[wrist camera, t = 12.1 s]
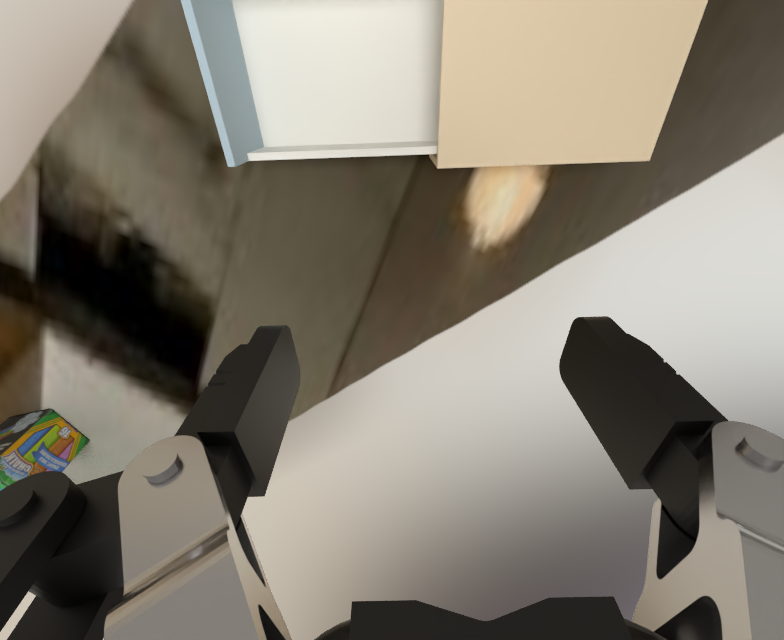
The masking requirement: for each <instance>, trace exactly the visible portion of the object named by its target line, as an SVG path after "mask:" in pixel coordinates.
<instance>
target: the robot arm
mask: <svg viewBox="0 0 784 640" xmlns="http://www.w3.org/2000/svg"><path fill="white" fill-rule="evenodd" d="M559 367H560V375H561V378H562V380H563V382H564V384H565V385H566V387H567V389H568V390H569V392H570V394H571V395H572V397H573V399H574V400H575V401H576V403H577V405H578V407H579V408H580V410H581V411H582V413H583V415H584V416H585V418H586V420H587V421H588V423H589V424H590V426H591V428H592V429H593V431H594V432H595V434H596V436H597V437H598V439H599V441H600V442H601V444H602V445H603V447H604V449H605V450H606V452H607V453H608V455H609V457H610V458H611V460H612V462H613V463H614V465H615V467H616V468H617V470H618V471H619V473H620V475H621V476H622V478H623V479H624V481H625V482H626V484H627V486H628V488H629V489H653V490H654V492H655V493H656V495H657V496H658V498H657V499H656V501H655V502H654V504H653V509H652V519H651V529H650V541H649V550H648V561H647V571H646V580H645V585H644V589H643V592H642V595H641V597H640V599H639V601H638V603H637V606H636V608H635V611H634V615H633V619H632V622H631V621H629V620H626V619H624V618H623V616H622V614H621V612H620V610H619V607H618V605H617V603H616V601H615V599H614V597H565V598H547V599H545V600H542V601H540V602H537V603H535V604H532V605H530V606H527V607H524V608H522V609H519V610H517V611H514V612H512V613H509V614H507V615H504V616H502V617H500V618H497V619H495V620H491V621H480V620H477V619H474V618H470V617H467V616H464V615H461V614H458V613H454V612H451V611H448V610H445V609H442V608H438V607H435V606H432V605H429V604H426V603H423V602H419V601H416V600H409V601H356V602H352V609H351V619H350V620H348V621H345V622H342V623H340V624H338V625H336V626H334V627H333V628H331V629H329V630H327V631H325V632H324V633H323V634H321V635H320V636H319V637H317V638H316V639H314V640H784V439H782V438H780V437H779V436H777V435H775V434H773V433H771V432H769V431H767V430H764V429H762V428H759V427H756V426H753V425H750V424H746V423H741V422H735V421H728V420H727V419H726V418H725V417H724V416H723V415H722V414H721V413H720V412H719V411H717V409H715V408H714V407H713V406H712V405H711V404H710V403H709V402H708V401H707V400H706V399H705V398H704V397H703V396H702V395H700V393H698V392H697V391H696V390H695V389H694V388H693V387H692V386H691V385H690V384H689V383H688V382H687V381H686V380H685V379H684V378H683V377H682V376H680V375H677V374H676V371H675V370H674V369H673V368H672V367H671V366H670V365H669V364H668V363H667V362H666V363H664V361H663V358H661V357H660V356H659V355H658V354H657V353H656V352H655V351H654V350H653V349H652V348H651V347H650V346H648V345H647V344H645V343H643V342H642V341H640V340H638V339H637V338H635V337H633V336H631V335H630V334H626V333H625V332H624V331H623V330H622V329H621V328H620V327H619V326H618V325H617V324H616V323H615V322H614V321H613V320H612V319H611V318H609V317H578V318H576V319H575V320H574V321H573V323H572V325H571V328H570V331H569V334H568V337H567V340H566V344H565V346H564V349H563V352H562V356H561V359H560V366H559ZM299 384H300V367H299V363H298V359H297V355H296V351H295V347H294V343H293V339H292V335H291V331H290V329H289V327H288V326H287V325H282V326H260V327H258V328H257V330H256V331H255V333H254V335H253V336H252V338H251V340H250V342H249V343H248V344H241V345H239V346H238V347H237V348H236V349H234V350H233V351H232V352H231V353H229V354H228V355H227V356H226V357H225V358H224V360H223V361H222V363H221V364H220V366H219V367H218V369H217V371H216V374H214V375H213V377H212V378H211V380H210V381H209V383H208V387H206V388H205V389H204V391H203V392H202V394H201V395H200V397H199V399H198V400H197V402H196V403H195V405H194V406H193V408H192V409H191V411H190V413H189V414H188V416H187V417H186V419H185V420H184V422H183V423H182V425H181V427H180V428H179V430H178V431H177V433H176V434H175V436H174V437H170V438H166V439H164V440H161V441H159V442H157V443H155V444H153V445H151V446H150V447H148V448H146V449H145V450H144V451H142V452H141V453H140V454H138V455H137V456H136V457H135V458H134V459H133V460H132V461H131V462H130V463H129V465H128V466H127V467H126V469H125V470H124V471H121V472H118V473H115V474H111V475H108V476H105V477H101V478H98V479H94V480H91V481H88V482H84V483H81V484H78V485H76V484H75V483H74V482H72V481H71V480H70V479H69V478H68V477H67V476H66V475H65V474H64V473H62V472H59V471H45V472H40V473H36V474H33V475H30V476H28V477H25V478H23V479H21V480H18V481H16V482H14V483H13V484H11V485H9V486H7V487H6V488H4V489H2V490H1V491H0V631H1V630H2V628H3V627H4V626H5V624H6V623H7V621H8V620H9V618H10V617H11V615H12V614H13V613H14V611H15V610H16V608H17V607H18V605H19V604H20V602H21V601H22V599H23V598H24V596H25V595H26V594H27V592H28V591H29V592H31V593H33V594H34V595H36V597H35V598H34V600H33V601H32V603H31V605H30V606H29V607H28V609H27V610H26V612H25V614H24V615H23V617H22V618H21V619H20V621H19V622H18V624H17V625H16V627H15V629H14V630H13V631H12V633H11V635H10V636H9V637H8V639H7V640H103V638H104V640H292V639H291V637H290V634H289V631H288V629H287V626H286V624H285V622H284V619H283V617H282V614H281V612H280V610H279V608H278V606H277V604H276V602H275V599H274V597H273V595H272V592H271V590H270V587H269V585H268V582H267V579H266V577H265V574H264V571H263V569H262V566H261V563H260V561H259V558H258V555H257V552H256V550H255V547H254V544H253V542H252V539H251V536H250V534H249V531H248V528H247V525H246V523H245V520H244V518H243V515H242V510H243V508H244V505H245V502H246V500H247V497H255V496H256V497H257V496H265V493H266V490H267V487H268V483H269V480H270V477H271V474H272V471H273V468H274V465H275V461H276V458H277V455H278V452H279V449H280V445H281V442H282V439H283V436H284V433H285V430H286V427H287V424H288V420H289V417H290V414H291V411H292V408H293V405H294V401H295V398H296V395H297V392H298V389H299Z"/></svg>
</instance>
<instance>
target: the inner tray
mask: <svg viewBox="0 0 784 640" xmlns="http://www.w3.org/2000/svg"><path fill="white" fill-rule="evenodd" d="M181 3H182V6H183V10H184V13H185V17H186V20H187V24H188V27H189V31H190V34H191V38H192V41H193V45H194V48H195V52H196V55H197V59H198V62H199V66H200V69H201V73H202V77H203V80H204V84H205V87H206V91H207V94H208V98H209V101H210V105H211V108H212V112H213V115H214V119H215V122H216V126H217V129H218V133H219V136H220V140H221V143H222V147H223V151H224V154H225V158H226V161H227V165H228V167H236V166H238V165H241V164H243V163H245V162H248V161H259V160H286V159H313V158H341V157H368V156H395V155H422V154H437V145H438V120H439V94H440V69H441V44H442V18H443V0H181Z"/></svg>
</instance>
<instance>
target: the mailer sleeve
mask: <svg viewBox="0 0 784 640" xmlns="http://www.w3.org/2000/svg"><path fill="white" fill-rule="evenodd" d="M707 2H708V0H443V18H442V44H441V69H440V94H439V120H438V145H437V154H429V157H430V159H431V160H432V161H433V163H434V164H435V166H436V167H437V169H438V168H465V167H493V166H521V165H548V164H576V163H604V162H631V161H650V158H651V155H652V152H653V150H654V147H655V144H656V141H657V139H658V136H659V133H660V130H661V128H662V125H663V122H664V120H665V117H666V114H667V111H668V109H669V106H670V103H671V100H672V98H673V95H674V92H675V90H676V87H677V84H678V81H679V79H680V76H681V73H682V70H683V68H684V65H685V62H686V59H687V57H688V54H689V51H690V49H691V46H692V43H693V40H694V38H695V35H696V32H697V29H698V27H699V24H700V21H701V18H702V16H703V13H704V10H705V8H706V5H707Z"/></svg>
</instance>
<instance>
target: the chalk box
mask: <svg viewBox="0 0 784 640" xmlns="http://www.w3.org/2000/svg"><path fill="white" fill-rule="evenodd" d="M88 442H89V440H88V439H87V438H85V437H84V436H83V435H82V434H81V433H79V432H78V431H77V430H76V429H75V428H73V427H72V426H71V425H70V424H69V423H67V422H66V421H65V420H64V419H62V418H61V417H60V416H59V415H58V414H57V413H55V412H54V411H53V410H52V409H48V410H43V411H38V412H34V413H29V414H24V415H20V416H15V417H10V418H8V419H7V420H6V421H5V422H4V423H2V424H1V425H0V491H1V490H2V489H4V488H6V487H7V486H9V485H11V484H13V483H14V482H16V481H18V480H21V479H23V478H25V477H28V476H30V475H33V474H36V473H40V472H45V471H59V472H62V471H63V470H64V469H65V468H66V467H67V466H68V465H69V463H70V462H71V461H72V460H73V459H74V458H75V457H76V455H77V454H78V453H79V452H80V451H81V450H82V449H83V448H84V446H85V445H86V444H87V443H88Z"/></svg>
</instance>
